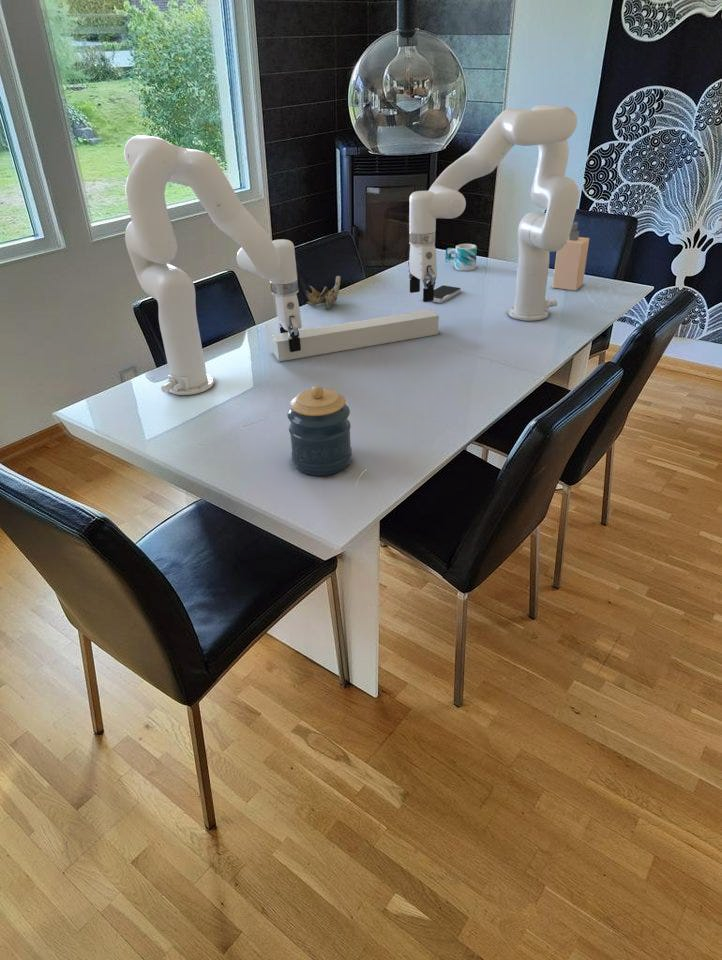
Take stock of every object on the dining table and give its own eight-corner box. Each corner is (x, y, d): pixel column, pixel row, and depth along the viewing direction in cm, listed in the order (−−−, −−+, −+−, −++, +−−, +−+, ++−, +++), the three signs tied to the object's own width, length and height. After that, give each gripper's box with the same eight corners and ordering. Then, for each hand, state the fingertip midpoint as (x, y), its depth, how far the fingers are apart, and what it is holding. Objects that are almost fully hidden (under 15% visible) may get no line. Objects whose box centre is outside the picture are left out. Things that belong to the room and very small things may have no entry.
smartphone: (461, 288, 240) (441, 299, 230) (461, 291, 241) (441, 303, 231) (442, 285, 244) (422, 296, 234) (442, 288, 245) (422, 300, 235)
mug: (470, 271, 262) (471, 249, 257) (442, 268, 267) (442, 246, 263) (478, 266, 268) (479, 244, 263) (451, 262, 273) (451, 241, 268)
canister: (282, 471, 142) (273, 395, 133) (307, 442, 152) (301, 370, 143) (338, 481, 138) (333, 404, 129) (360, 451, 148) (358, 377, 139)
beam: (279, 361, 193) (277, 341, 190) (273, 353, 198) (271, 334, 195) (438, 334, 207) (438, 315, 204) (429, 327, 212) (429, 309, 209)
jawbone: (353, 284, 236) (341, 264, 228) (334, 318, 232) (322, 299, 224) (332, 281, 241) (320, 262, 233) (313, 315, 237) (300, 296, 229)
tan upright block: (559, 281, 247) (567, 218, 235) (582, 284, 243) (592, 220, 231) (548, 290, 238) (556, 226, 226) (572, 294, 234) (581, 228, 222)
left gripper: (306, 293, 180) (311, 353, 190) (289, 276, 194) (295, 333, 203) (279, 298, 178) (286, 358, 188) (264, 280, 192) (271, 337, 201)
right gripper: (447, 242, 187) (445, 303, 196) (421, 230, 201) (420, 287, 210) (422, 246, 185) (422, 306, 194) (398, 233, 199) (398, 290, 208)
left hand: (290, 345), depth 195 cm, fingers open, 9 cm apart
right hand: (421, 296), depth 202 cm, fingers open, 9 cm apart
